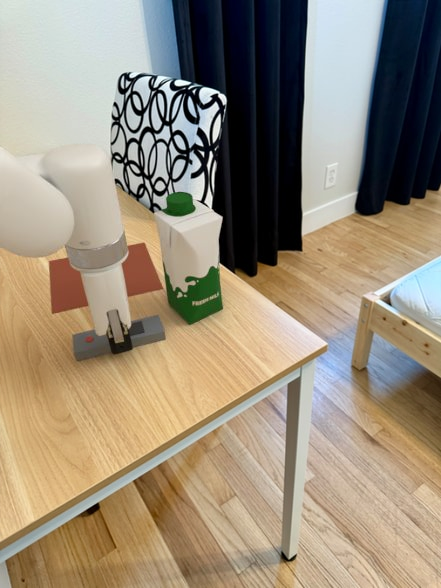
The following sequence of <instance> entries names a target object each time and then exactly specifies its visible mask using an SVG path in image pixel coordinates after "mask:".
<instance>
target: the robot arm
mask: <svg viewBox="0 0 441 588" xmlns="http://www.w3.org/2000/svg"><path fill="white" fill-rule="evenodd" d="M127 246H128V241H127V238H126V232H125V228H124V223H123V216H122V211H121V206H120V202H119V197H118V191H117V185H116V181H115V175H114V169H113V165H112V161H111V158H110V156H109V154H108V152H107V151H106V150H105V149H104V148H102V147H101V146H99V145H96V144H92V143H71V144H66V145H61V146H60V147H56V148H54V149H52V150H50V151H49V152H44V153H43V152H42V153H36V154H27V155H26V154H25V155H13V154H11V153H10V152H9V151H7V150H6V149H5V148H4V147H2V146H1V145H0V248H1V249H2V250H5V251H6V252H9V253H10V254H13V255H16V256H19V257H22V258H28V259H29V258H30V259H31V258H32V259H39V258H45V257H48V256H51V255H53V254H56V253H58V252H59V251H60V250H62V249H63V248H64V249H65V252H66V256H67V257H68V259H69V263H70V265H71V266H72V267H73V268H74V269H76V270H78V271H80V273H81V278H82V282H83V286H84V290H85V294H86V297H87V301H88V305H89V306H88V308H89V312H90V315H91V319H92V324H93V328H94V330H95V332H96V334H97V335H98V336H101V335H105V334H106V332H107V337H108V341H109V345H110V348H111V352H112V353H111V354H112V355H119V354H123V353H126V352H130V351H133V349H134V347H133V346H132V342H131V337H130V333H129V328H130V327H131V321H132V320H131V319H132V318H131V313H130V311H131V310H130V304H129V297H128V296H127V290H126V284H125V279H124V274H123V269H122V264H121V263H123V262H124V261H125V260H126V258H127V256H128V247H127Z"/></svg>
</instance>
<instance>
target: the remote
mask: <svg viewBox="0 0 441 588" xmlns="http://www.w3.org/2000/svg"><path fill="white" fill-rule="evenodd" d="M129 333H130V337H131V342H132V346H133V348H136V347H140V346H143V345H148V344H152V343H156V342H160V341H164V340H166V333H165V329H164V326H163V323H162V320H161V316H160V315H159V314H156V315H151V316H146V317H142V318H139V319H134V320H131V327H130V328H129ZM72 347H73V355H74V359H75V361H76V362H79V361H83V360H88V359H92V358H96V357H99V356H103V355H108V354H112V352H111V348H110V345H109V341H108V337H107V332H106V334H105V335H101V336H98V335H97V334H96V332H95V329H91V330H86V331H82V332H78V333H74V334H72Z"/></svg>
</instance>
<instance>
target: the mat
mask: <svg viewBox="0 0 441 588" xmlns="http://www.w3.org/2000/svg"><path fill="white" fill-rule="evenodd" d="M127 247H128V256H127V258H126V260H125V261H124V262H123V263H121V264H122V269H123V274H124V279H125V284H126V290H127V296H128V298H130V297H134V296H138V295H143V294H147V293H152V292H156V291H161V290H164V287H163V285H162V284H163V283H162V282H161V280H160V276H159V274H158V272H157V270H156V267H155V265H154V261H153V260H152V257H151V255H150V253H149V252H150V251H149V250H148V247H147V245H146V243H145V242H138V243H134V244H127ZM48 267H49V269H48V270H49V286H50V304H51V314H52V315H53V314H57V313H58V314H59V313H62V312H67V311H72V310H76V309H80V308H85V307H89V305H88V301H87V297H86V294H85V290H84V286H83V282H82V278H81V273H80V271H78V270H76V269H74V268H73V267H72V266H71V265H70V263H69V259H68V256H67V257H63V258H57V259H52V260H48Z"/></svg>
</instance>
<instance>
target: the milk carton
mask: <svg viewBox="0 0 441 588" xmlns="http://www.w3.org/2000/svg"><path fill="white" fill-rule="evenodd" d="M165 201H166V202H165V203H166V207H165V208H163V209H160V210H158V211H155V212H154V213H153V216H154V220H155V224H156V229H157V234H158V238H159V245H160V253H161V254H160V255H161V260H162V268H163V269H162V270H163V275H164V283H165V292H166V297H167V304H168V305H169V306H170V307H171V308H172V309H173V310H174V311H175V312H176V313H177V314H178V315H179V316H180V317H181V319H183V320H184V322H186V323H187V324H188V325H189V326H191V325H193V324H195V323H197V322H199V321H201V320H203V319H205V318H207V317H209V316H211V315H213V314H215V313H218V312H220V311H222V310H223V309H224V306H223V296H222V286H221V274H220V273H221V272H220V268H221V267H220V244H219V243H220V242H219V239H220V233H221V228H222V223H223V216H222V215H220V214H218V213H217V212H215V211H214V209H212V208H211V207H209V206H206V205H205V204H203V203H201V202H200V201H198V200H197V199H194V197H193V195H192V194H191V193H189V192H188V191H187V192H186V191H176V192H171V193H170V194H168V195H166V197H165Z"/></svg>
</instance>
